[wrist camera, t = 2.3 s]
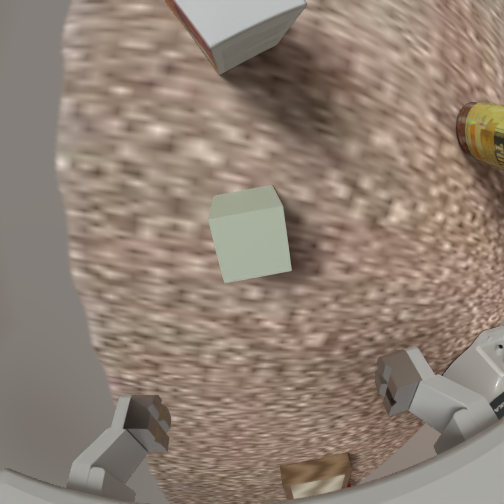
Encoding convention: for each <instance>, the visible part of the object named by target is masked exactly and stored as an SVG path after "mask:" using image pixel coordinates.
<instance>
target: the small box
mask: <svg viewBox="0 0 504 504" xmlns="http://www.w3.org/2000/svg"><path fill="white" fill-rule="evenodd" d="M165 2H166V3H167V5H168V6H169V8H170V9H171V11H172V12H173V13H174V14H175V16H176V17H177V18H178V19H179V20H180V22H181V23H182V24H183V25H184V27H185V28H186V29H187V31H188V32H189V34H190V35H191V36H192V38H193V39H194V40H195V42H196V43H197V45H198V46H199V47H200V49H201V50H202V52H203V53H204V55H205V56H206V57H207V59H208V60H209V62H210V63H211V65H212V66H213V68H214V69H215V70H216V72H217V73H218V74H219V75H221V74H223V73H224V72H226V71H228V70H230V69H232V68H234V67H235V66H237V65H239V64H241V63H243V62H245V61H246V60H248V59H250V58H252V57H254V56H256V55H258V54H260V53H262V52H264V51H266V50H268V49H270V48H272V47H274V46H276V45H277V44H278V43H279V41H280V40H281V39H282V37H283V36H284V35H285V33H286V32H287V31H288V29H289V28H290V27H291V25H292V24H293V23H294V21H295V20H296V19H297V17H298V16H299V15H300V14H301V12H302V11H303V10H304V9H305V7H306V6H307V3H306V1H305V0H165Z"/></svg>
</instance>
